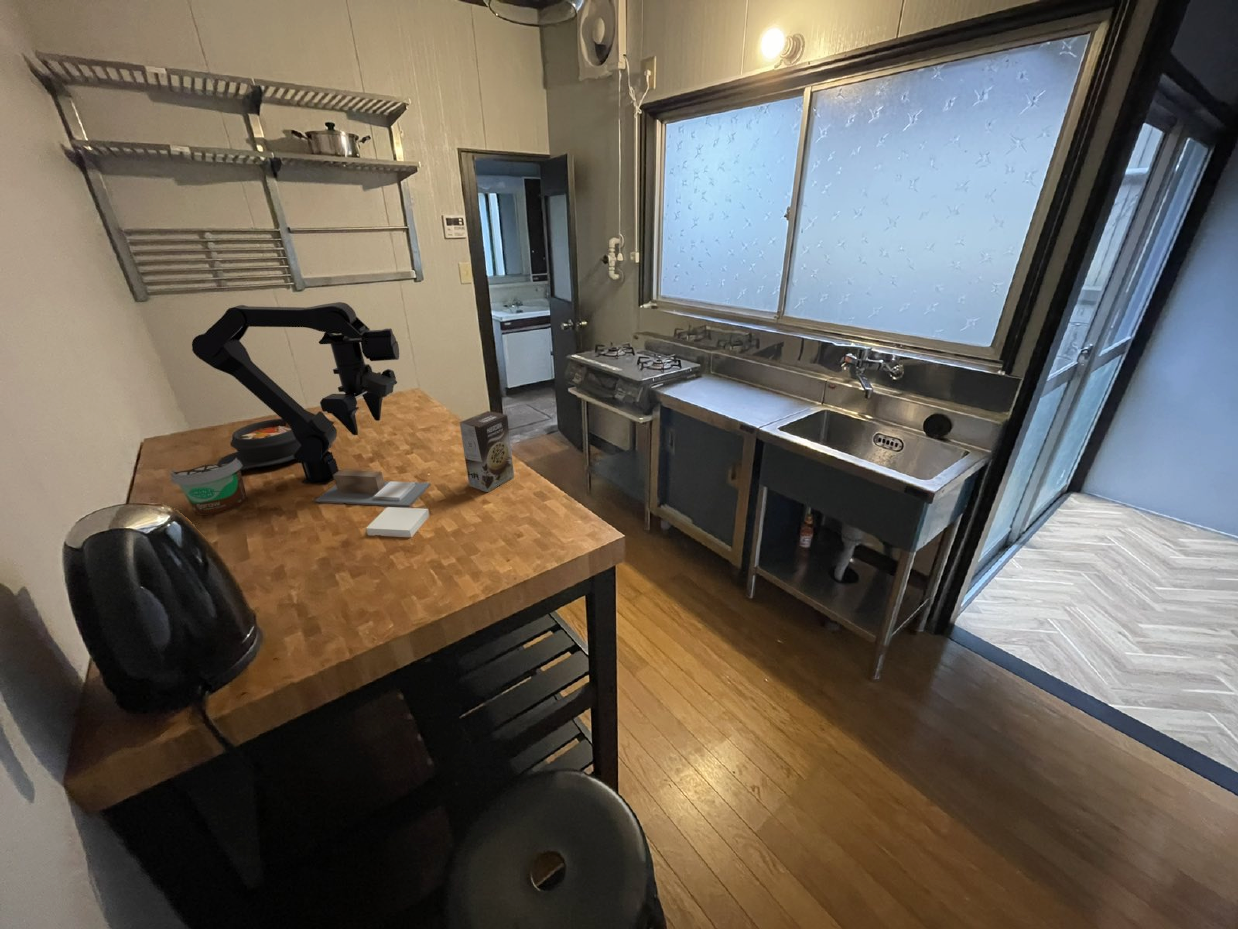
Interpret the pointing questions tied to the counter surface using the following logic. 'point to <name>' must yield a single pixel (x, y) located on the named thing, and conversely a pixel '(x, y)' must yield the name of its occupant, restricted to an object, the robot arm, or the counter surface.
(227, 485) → the food container
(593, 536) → the counter surface
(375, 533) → the glazed tile
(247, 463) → the casserole
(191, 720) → the counter surface
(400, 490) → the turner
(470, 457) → the coffee box
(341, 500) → the rest mat
